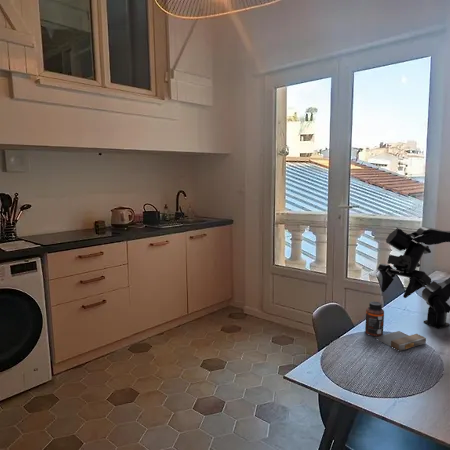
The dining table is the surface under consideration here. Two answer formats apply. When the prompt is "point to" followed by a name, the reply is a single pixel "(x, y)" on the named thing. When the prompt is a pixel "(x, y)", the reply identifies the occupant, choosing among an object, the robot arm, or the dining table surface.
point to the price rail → (408, 342)
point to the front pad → (391, 337)
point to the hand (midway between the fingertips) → (393, 294)
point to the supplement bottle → (374, 319)
